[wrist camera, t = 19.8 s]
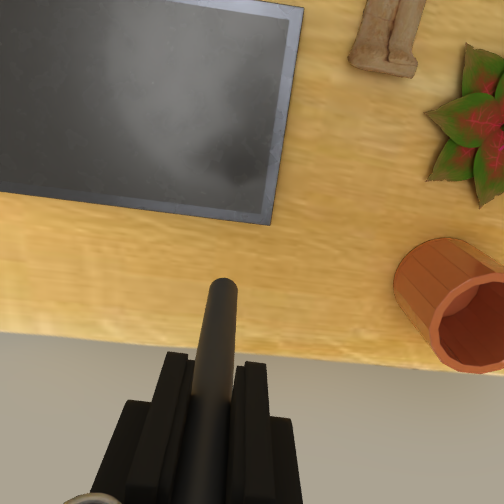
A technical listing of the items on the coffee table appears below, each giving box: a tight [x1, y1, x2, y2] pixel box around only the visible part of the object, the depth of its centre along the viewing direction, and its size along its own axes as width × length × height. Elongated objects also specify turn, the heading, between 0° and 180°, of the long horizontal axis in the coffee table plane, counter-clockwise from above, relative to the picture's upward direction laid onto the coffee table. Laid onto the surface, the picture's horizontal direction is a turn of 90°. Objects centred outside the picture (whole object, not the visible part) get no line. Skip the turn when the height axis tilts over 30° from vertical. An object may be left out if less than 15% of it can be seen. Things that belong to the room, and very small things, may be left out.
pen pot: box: [393, 238, 504, 374], centre depth 30 cm, size 7×7×7 cm
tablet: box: [0, 0, 304, 226], centre depth 28 cm, size 20×14×1 cm
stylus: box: [170, 278, 238, 504], centre depth 12 cm, size 1×1×13 cm
